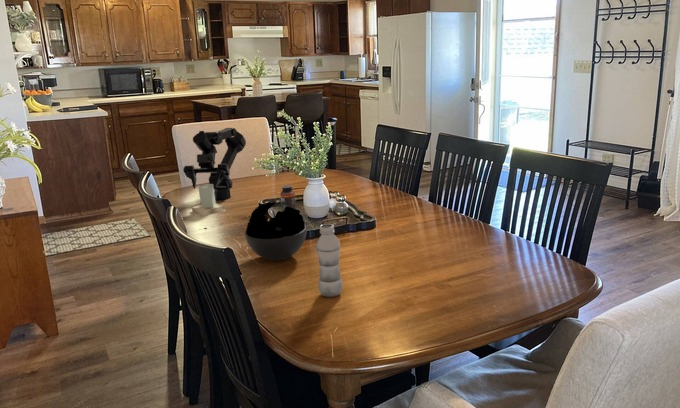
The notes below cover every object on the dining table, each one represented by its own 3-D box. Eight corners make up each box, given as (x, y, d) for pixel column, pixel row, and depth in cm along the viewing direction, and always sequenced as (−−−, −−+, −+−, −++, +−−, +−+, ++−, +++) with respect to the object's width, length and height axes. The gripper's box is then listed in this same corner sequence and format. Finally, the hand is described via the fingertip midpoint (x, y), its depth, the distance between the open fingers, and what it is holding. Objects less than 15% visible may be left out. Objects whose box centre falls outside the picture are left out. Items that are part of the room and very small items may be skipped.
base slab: (215, 210, 252) (214, 205, 251) (226, 214, 243) (226, 210, 243) (191, 215, 245) (191, 211, 245) (203, 220, 237) (202, 216, 236)
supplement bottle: (297, 210, 241) (295, 184, 238) (295, 214, 235) (292, 188, 232) (283, 210, 241) (281, 184, 238) (280, 214, 236) (278, 188, 233)
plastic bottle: (318, 291, 161) (313, 223, 155) (342, 288, 161) (338, 221, 156) (319, 300, 154) (314, 230, 149) (344, 298, 155) (340, 228, 149)
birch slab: (212, 206, 250) (212, 202, 250) (224, 210, 243) (224, 205, 243) (192, 211, 244) (191, 207, 244) (204, 215, 237) (203, 211, 236)
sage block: (204, 204, 246) (201, 184, 243) (215, 204, 246) (213, 183, 243) (201, 208, 241) (198, 187, 238) (213, 207, 241) (210, 187, 238)
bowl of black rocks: (241, 254, 193) (235, 201, 188) (297, 243, 200) (293, 192, 195) (257, 274, 175) (251, 216, 170) (317, 261, 182) (313, 205, 177)
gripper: (181, 147, 241) (177, 178, 233) (225, 144, 240) (222, 176, 232) (189, 161, 250) (185, 192, 243) (231, 159, 250) (228, 190, 242)
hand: (204, 187), depth 240 cm, fingers open, 9 cm apart
